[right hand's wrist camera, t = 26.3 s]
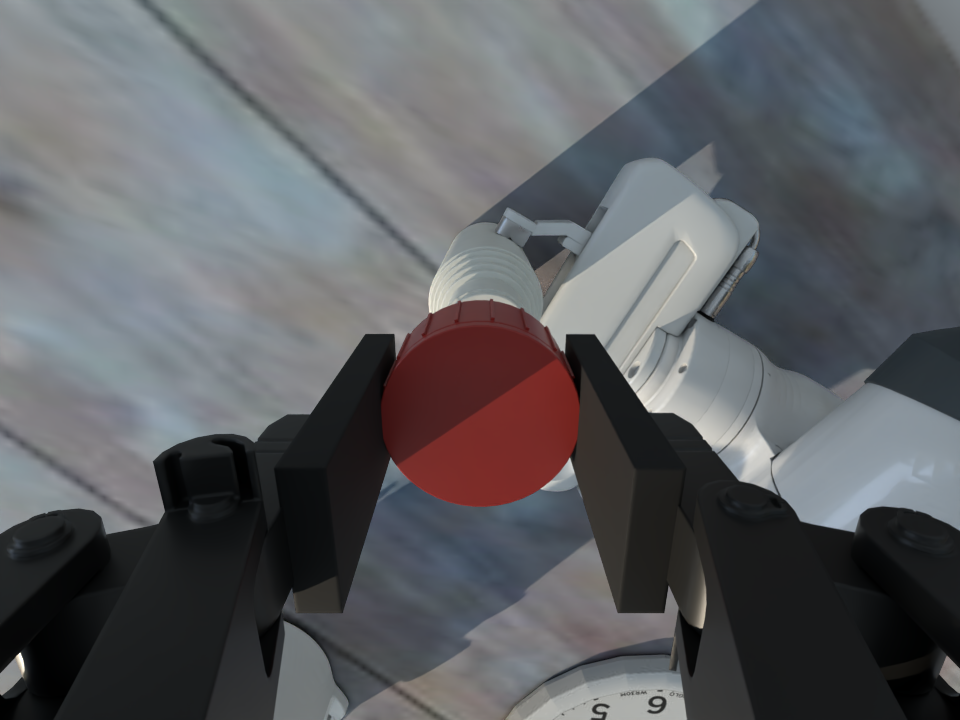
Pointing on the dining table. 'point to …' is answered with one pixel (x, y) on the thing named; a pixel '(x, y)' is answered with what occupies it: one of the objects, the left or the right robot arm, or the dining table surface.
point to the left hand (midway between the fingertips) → (472, 271)
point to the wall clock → (609, 692)
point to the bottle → (486, 272)
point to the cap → (480, 405)
